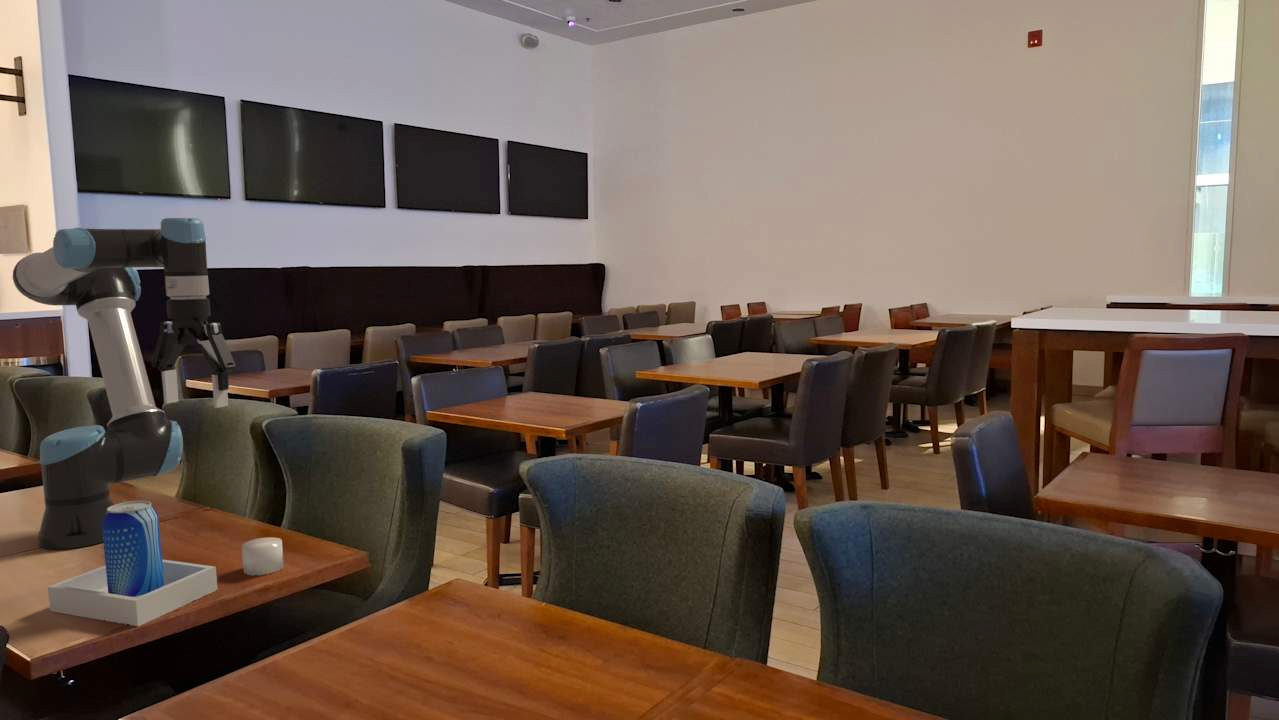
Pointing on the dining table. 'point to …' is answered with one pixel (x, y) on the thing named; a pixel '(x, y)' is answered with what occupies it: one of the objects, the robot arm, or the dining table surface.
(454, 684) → the dining table surface
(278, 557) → the white pillar candle
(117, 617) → the tray
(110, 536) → the beer can
